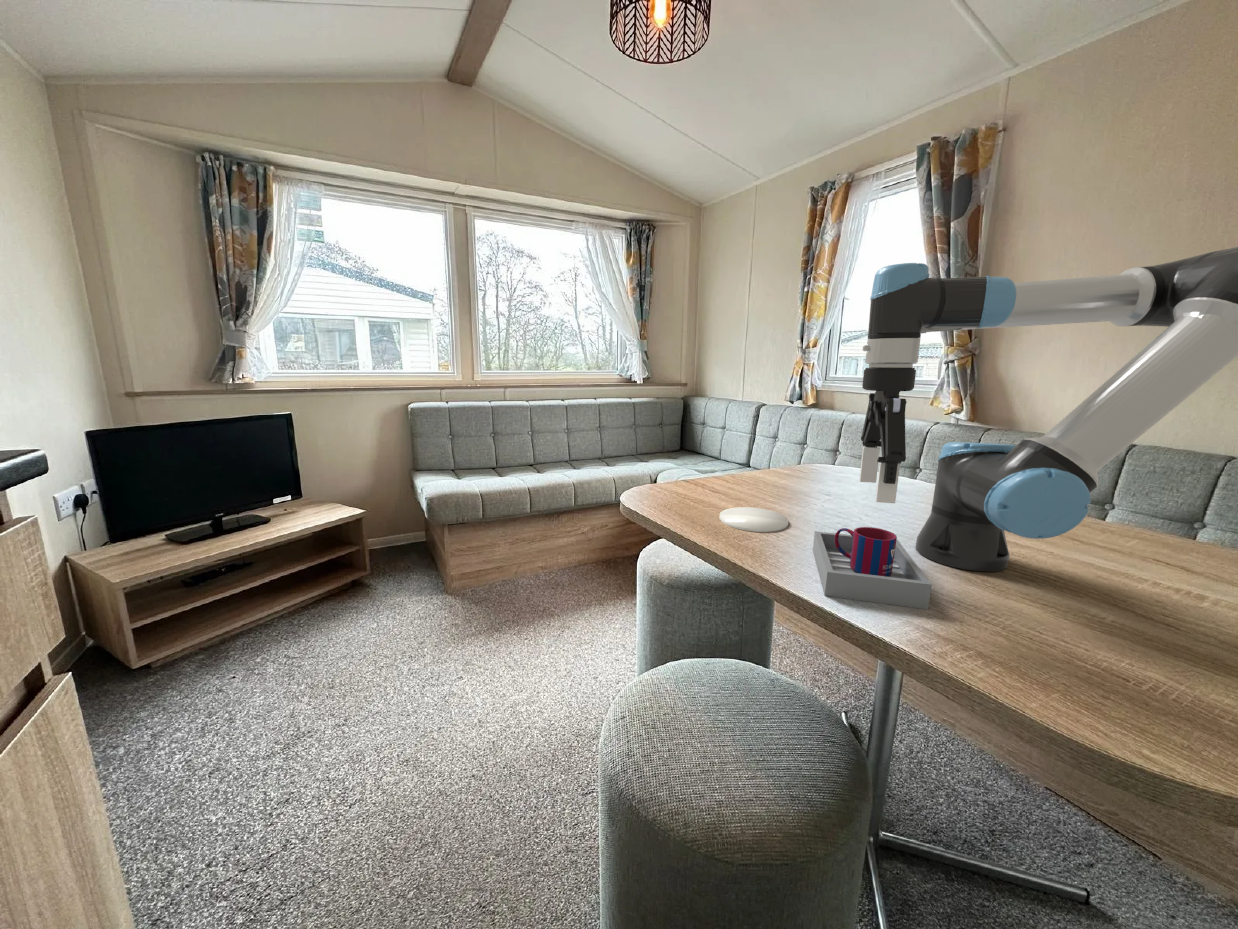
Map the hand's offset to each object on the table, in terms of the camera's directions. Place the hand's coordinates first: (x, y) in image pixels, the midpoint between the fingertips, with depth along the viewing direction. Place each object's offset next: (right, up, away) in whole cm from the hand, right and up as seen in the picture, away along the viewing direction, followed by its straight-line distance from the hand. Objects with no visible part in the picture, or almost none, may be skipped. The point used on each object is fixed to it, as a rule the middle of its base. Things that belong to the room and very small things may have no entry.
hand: (875, 491), depth 83 cm
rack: (-1, -15, +3) cm, 16 cm away
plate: (-12, -9, +33) cm, 36 cm away
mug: (-1, -14, +4) cm, 15 cm away
